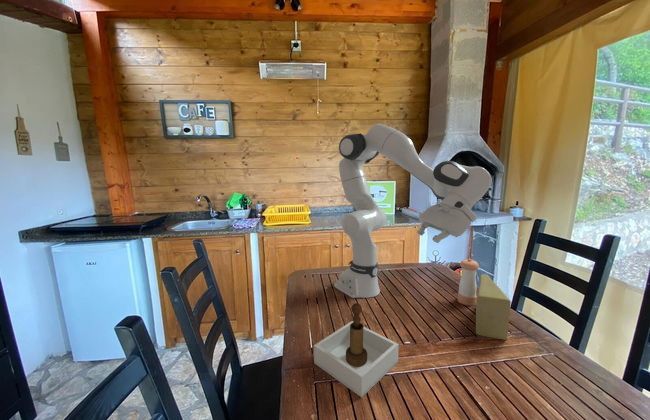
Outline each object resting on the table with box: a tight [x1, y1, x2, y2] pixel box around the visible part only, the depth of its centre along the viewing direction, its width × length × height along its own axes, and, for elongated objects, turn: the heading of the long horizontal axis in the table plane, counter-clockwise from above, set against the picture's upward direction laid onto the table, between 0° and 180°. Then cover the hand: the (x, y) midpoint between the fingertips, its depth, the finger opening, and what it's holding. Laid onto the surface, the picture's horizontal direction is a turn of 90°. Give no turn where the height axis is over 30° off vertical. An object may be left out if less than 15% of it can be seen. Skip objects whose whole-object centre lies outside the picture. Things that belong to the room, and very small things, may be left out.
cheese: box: [475, 273, 512, 340], centre depth 104 cm, size 22×10×15 cm, turn 159°
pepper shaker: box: [456, 258, 480, 307], centre depth 118 cm, size 7×7×19 cm
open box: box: [313, 320, 400, 398], centre depth 84 cm, size 18×18×6 cm
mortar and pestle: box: [346, 302, 367, 367], centre depth 83 cm, size 7×6×18 cm
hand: (426, 237), depth 94 cm, fingers open, 8 cm apart
